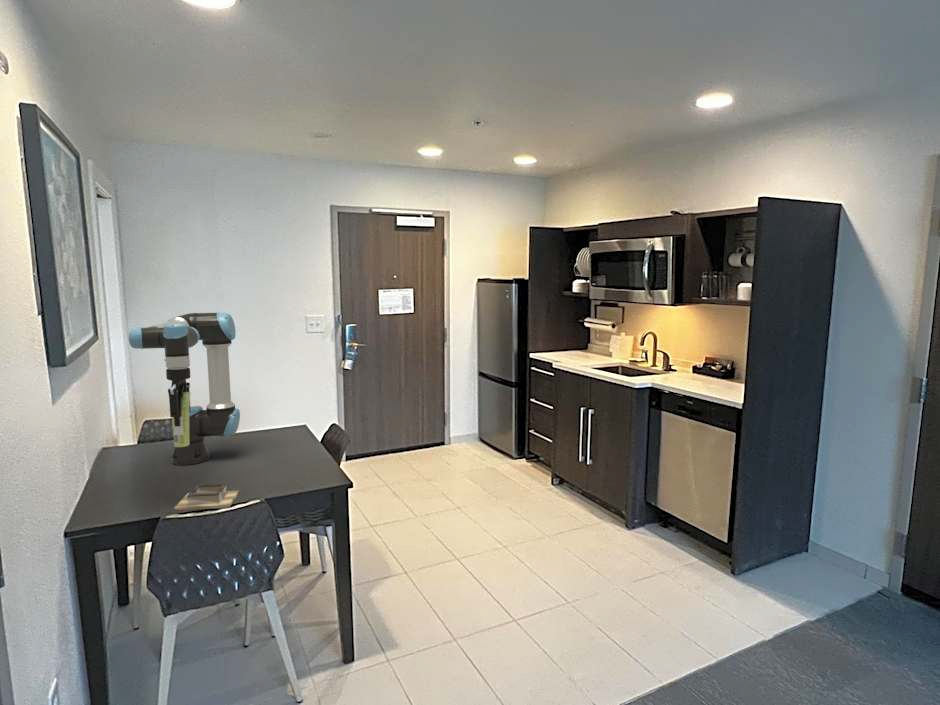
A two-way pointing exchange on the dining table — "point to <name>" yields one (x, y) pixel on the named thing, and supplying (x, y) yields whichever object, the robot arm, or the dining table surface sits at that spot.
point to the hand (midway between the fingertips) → (182, 432)
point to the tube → (183, 439)
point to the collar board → (207, 497)
